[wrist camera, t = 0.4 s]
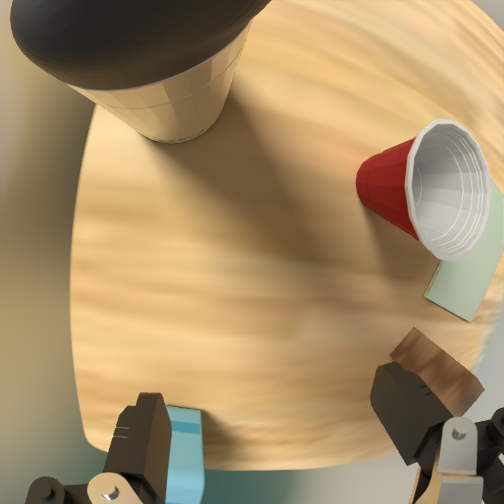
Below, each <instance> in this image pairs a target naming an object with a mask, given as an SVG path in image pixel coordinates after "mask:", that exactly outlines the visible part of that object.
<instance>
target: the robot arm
mask: <svg viewBox="0 0 504 504" xmlns="http://www.w3.org/2000/svg"><path fill="white" fill-rule="evenodd" d="M270 1H271V0H13V2H12V7H11V16H10V21H11V30H12V33H13V37H14V39H15V41H16V43H17V45H18V46H19V48H20V50H21V51H22V52H23V54H24V55H25V56H26V57H27V58H29V60H30V61H32V62H33V63H34V64H36V65H37V66H39V67H40V68H42V69H43V70H44V71H46V72H48V73H49V74H51V75H52V76H54V77H56V78H57V79H59V80H61V81H63V82H64V83H66V84H67V85H69V86H70V87H72V88H74V89H75V90H76V91H78V92H80V93H81V94H83V95H84V96H86V97H87V98H89V99H90V100H92V101H94V102H95V103H97V104H98V105H100V106H101V107H103V108H104V109H106V110H107V111H109V112H110V113H112V114H113V115H115V116H116V117H118V118H119V119H120V120H122V121H123V122H125V123H126V124H128V125H129V126H131V127H132V128H133V129H135V130H136V131H138V132H139V133H141V134H142V135H144V136H146V137H147V138H149V139H151V140H154V141H157V142H160V143H170V144H172V143H182V142H185V141H188V140H192V139H194V138H196V137H198V136H200V135H202V134H203V133H204V132H205V131H207V130H208V129H209V128H210V127H211V126H212V125H213V124H214V123H215V122H216V120H217V119H218V117H219V115H220V114H221V112H222V110H223V106H224V103H225V100H226V97H227V95H228V92H229V88H230V85H231V82H232V79H233V76H234V73H235V70H236V67H237V64H238V61H239V58H240V55H241V52H242V49H243V46H244V43H245V41H246V37H247V34H248V31H249V29H250V26H251V23H252V20H253V18H254V16H256V15H257V14H258V13H259V12H260V11H261V10H262V9H264V8H265V6H266V5H267V4H268V3H269V2H270ZM370 399H371V405H372V407H373V409H374V411H375V413H376V414H377V416H378V418H379V419H380V421H381V423H382V424H383V426H384V428H385V429H386V431H387V433H388V434H389V436H390V438H391V439H392V441H393V443H394V445H395V446H396V448H397V450H398V451H399V453H400V455H401V456H402V458H403V460H404V462H405V463H406V465H407V466H409V465H411V464H413V463H416V462H418V463H419V465H420V466H419V468H418V471H417V474H416V479H415V483H414V486H413V490H412V494H411V497H410V501H409V504H481V502H482V499H483V501H484V503H485V504H504V465H503V463H502V462H501V460H500V459H499V458H498V457H499V455H500V454H501V453H502V454H503V455H504V408H500V409H498V410H496V412H495V413H494V415H493V416H492V418H491V419H490V420H486V421H481V422H477V423H473V422H472V421H471V420H470V419H468V418H465V417H454V416H453V415H452V414H451V413H450V411H449V410H448V409H447V408H446V407H445V405H444V404H443V403H442V402H441V401H440V399H439V398H438V397H437V396H436V395H435V393H433V391H432V390H431V389H430V388H429V386H428V387H427V384H426V383H425V382H424V381H423V379H422V378H421V377H420V376H418V375H417V374H415V373H413V372H411V371H410V370H409V371H405V369H404V368H403V367H402V366H401V365H400V364H399V363H398V362H392V363H388V364H384V365H381V366H378V368H377V370H376V374H375V378H374V383H373V387H372V391H371V396H370ZM113 436H114V437H113V438H112V441H111V445H110V448H109V452H108V455H107V459H106V463H105V466H104V469H103V472H102V473H101V474H99V475H97V476H95V477H94V478H93V479H92V480H91V481H90V482H89V483H88V484H81V485H67V486H63V485H62V484H61V483H60V482H59V481H58V480H56V479H54V478H51V477H41V478H38V479H36V480H35V481H34V482H33V483H32V484H31V486H30V488H29V492H28V495H27V498H26V502H25V504H165V502H166V489H167V478H168V467H169V457H170V447H171V438H172V426H171V420H170V417H169V414H168V411H167V408H166V406H165V403H164V399H163V396H162V394H161V393H140V394H139V396H138V399H137V403H136V406H127V407H126V408H125V409H124V410H123V412H122V413H121V414H120V415H119V418H118V421H117V424H116V428H115V431H114V434H113Z"/></svg>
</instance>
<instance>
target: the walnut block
mask: <svg viewBox="0 0 504 504" xmlns="http://www.w3.org/2000/svg"><path fill="white" fill-rule="evenodd" d="M390 356H391V357H392V358H393V359H394V360H395V361H396V362H398V363H399V364H400V365H401V366H402V367H403V368H404V369H405V371H409V370H410V371H411V372H413V373H415V374H417V375H418V376H420V377H421V378H422V379H423V381H424V382H425V383H426V384H427V387H428V386H429V388H430V389H431V390H432V391H433V393H435V395H436V396H437V397H438V398H439V399H440V401H441V402H442V403H443V404H444V405H445V407H446V408H447V409H448V410H449V411H450V413H451V414H452V415H453V416H454V417H462V416H463V415H464V413H465V412H466V411H467V410H468V409H469V408H470V407H471V406H472V404H473V403H474V402H475V401H476V400H477V398H478V397H479V396H480V395H481V394H482V392H483V391H484V390H485V389H484V388H483V386H482V385H481V383H480V382H479V380H478V378H477V377H476V376H474V375H473V374H472V373H471V372H470V371H468V370H467V369H466V368H465V367H464V366H462V365H461V364H460V363H459V362H457V361H456V360H455V359H454V358H452V357H451V356H450V355H449V354H447V353H446V352H445V351H444V350H442V349H441V348H440V347H439V346H437V345H436V344H435V343H434V342H432V341H431V340H430V339H428V338H427V337H426V336H425V335H423V334H422V333H421V332H420V331H418V330H417V329H416V328H413V329H412V330H411V331H410V332H409V334H408V335H407V336H406V337H405V338H404V340H403V341H402V342H401V343H400V344H399V345H398V347H397V348H396V349H395V350H394V351H393V352H392V353H391V354H390Z"/></svg>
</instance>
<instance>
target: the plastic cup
mask: <svg viewBox="0 0 504 504" xmlns="http://www.w3.org/2000/svg"><path fill="white" fill-rule="evenodd" d="M356 187H357V193H358V195H359V197H360V199H361V201H362V202H363V203H364V204H365V205H366V206H367V207H368V208H369V209H371V210H372V211H374V212H375V213H377V214H379V215H380V216H381V217H383V218H384V219H385V220H387V221H389V222H390V223H392V224H394V225H395V226H397V227H399V228H400V229H402V230H404V231H405V232H407V233H409V234H410V235H412V236H413V237H414V238H415V239H416V240H418V241H420V242H421V243H422V244H423V245H424V246H425V247H426V248H427V249H428V250H429V251H430V252H431V253H432V254H433V255H434V256H435V257H437V258H438V259H441V260H446V261H452V262H456V261H458V260H460V259H462V258H464V257H466V256H468V255H470V254H471V253H472V252H473V250H474V249H475V248H476V246H477V245H478V244H479V243H480V241H481V240H482V238H483V235H484V233H485V230H486V227H487V224H488V221H489V218H490V210H491V200H492V189H491V181H490V173H489V168H488V165H487V163H486V160H485V157H484V155H483V152H482V149H481V147H480V146H479V144H478V143H477V141H476V140H475V139H474V137H473V136H472V134H471V133H470V132H469V130H468V129H466V128H465V127H463V126H462V125H460V124H458V123H457V122H455V121H454V120H452V119H435V120H434V121H433V122H431V123H430V124H429V125H428V126H426V127H425V128H424V129H423V130H421V131H420V132H419V133H418V134H417V136H416V137H415V138H413V139H411V140H409V141H406V142H404V143H401V144H399V145H397V146H394V147H392V148H389V149H387V150H385V151H383V152H382V153H380V154H377V155H374V156H372V157H371V158H369V159H368V160H366V161H365V162H364V163H363V164H362V165H361V167H360V169H359V170H358V172H357V178H356Z"/></svg>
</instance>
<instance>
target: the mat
mask: <svg viewBox="0 0 504 504" xmlns="http://www.w3.org/2000/svg"><path fill="white" fill-rule="evenodd" d="M490 181H491V189H492V200H491V210H490V218H489V221H488V224H487V227H486V230H485V233H484V235H483V238H482V240H481V241H480V243H479V244H478V245H477V246H476V248H475V249H474V250H473V252H472V253H471V254H470V255H468V256H466V257H464V258H462V259H460V260H458V261H456V262H452V261H446V260H441V261H440V263H439V265H438V268H437V270H436V272H435V274H434V276H433V278H432V280H431V282H430V284H429V286H428V288H427V290H426V292H425V294H424V297H425V298H427V299H429V300H431V301H433V302H434V303H436V304H438V305H440V306H442V307H443V308H445V309H447V310H449V311H451V312H452V313H454V314H456V315H458V316H460V317H461V318H463V319H465V320H467V321H468V322H470V323H471V321H472V319H473V317H474V315H475V314H476V312H477V310H478V308H479V306H480V303H481V301H482V299H483V297H484V295H485V293H486V291H487V289H488V286H489V284H490V282H491V279H492V277H493V275H494V272H495V270H496V267H497V265H498V262H499V260H500V257H501V254H502V252H503V249H504V195H503V193H502V192H501V191H500V189H499V188H498V187H497V185H496V184H495V183H494V182H493V180H492V179H491V178H490Z"/></svg>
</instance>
